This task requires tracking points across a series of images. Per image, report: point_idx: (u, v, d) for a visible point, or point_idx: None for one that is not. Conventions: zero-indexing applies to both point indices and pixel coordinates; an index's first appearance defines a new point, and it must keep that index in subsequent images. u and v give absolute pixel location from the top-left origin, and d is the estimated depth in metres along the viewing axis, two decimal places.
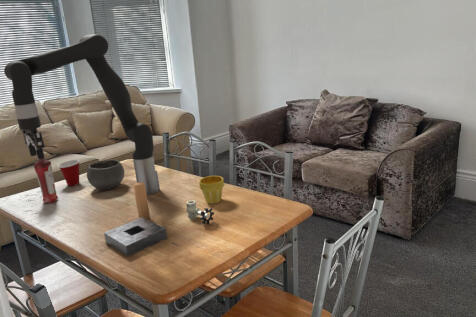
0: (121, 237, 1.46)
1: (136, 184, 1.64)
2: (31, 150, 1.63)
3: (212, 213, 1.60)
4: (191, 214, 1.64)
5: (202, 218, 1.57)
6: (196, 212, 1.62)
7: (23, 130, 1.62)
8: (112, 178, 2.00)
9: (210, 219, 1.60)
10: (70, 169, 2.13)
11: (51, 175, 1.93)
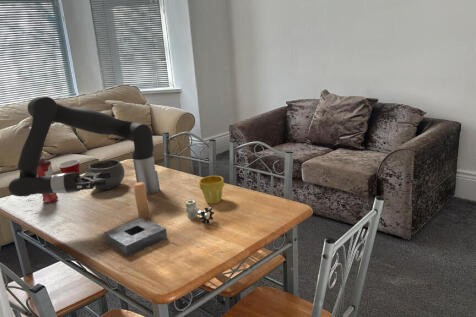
0: (121, 237, 1.46)
1: (136, 184, 1.64)
2: (105, 176, 1.66)
3: (212, 213, 1.60)
4: (191, 214, 1.65)
5: (202, 218, 1.57)
6: (196, 212, 1.63)
7: None
8: (112, 178, 2.00)
9: (210, 218, 1.60)
10: (70, 169, 2.13)
11: None
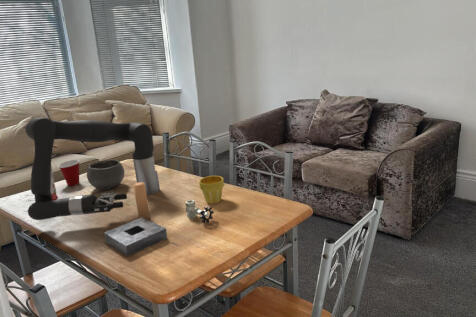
0: (121, 237, 1.46)
1: (136, 184, 1.64)
2: (121, 198, 1.70)
3: (212, 212, 1.61)
4: (190, 213, 1.65)
5: (202, 217, 1.58)
6: (195, 211, 1.63)
7: None
8: (112, 178, 2.00)
9: (210, 218, 1.61)
10: (70, 169, 2.13)
11: (51, 175, 1.93)
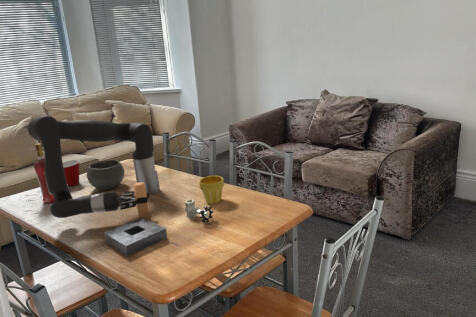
0: (121, 237, 1.46)
1: (136, 184, 1.64)
2: None
3: (211, 211, 1.62)
4: (190, 213, 1.65)
5: (202, 216, 1.58)
6: (195, 211, 1.63)
7: None
8: (112, 178, 2.00)
9: (209, 217, 1.61)
10: (70, 169, 2.13)
11: None
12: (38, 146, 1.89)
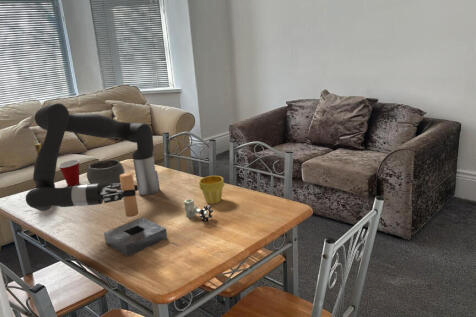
0: (121, 237, 1.46)
1: (123, 175, 1.47)
2: None
3: (211, 211, 1.62)
4: (189, 212, 1.66)
5: (202, 216, 1.59)
6: (195, 210, 1.64)
7: None
8: (112, 178, 2.00)
9: (209, 217, 1.62)
10: (70, 169, 2.13)
11: None
12: (38, 146, 1.89)
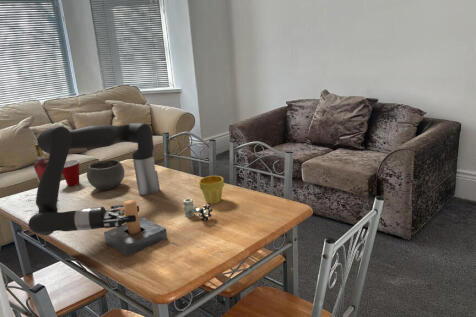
0: (121, 237, 1.46)
1: (126, 202, 1.47)
2: None
3: (210, 210, 1.63)
4: (188, 212, 1.66)
5: (201, 215, 1.60)
6: (194, 210, 1.65)
7: None
8: (112, 178, 2.00)
9: (209, 216, 1.63)
10: (70, 169, 2.13)
11: None
12: (38, 146, 1.89)
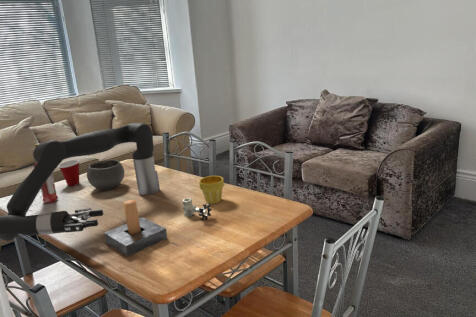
0: (121, 237, 1.46)
1: (126, 202, 1.47)
2: (96, 214, 1.51)
3: (210, 209, 1.64)
4: (188, 211, 1.67)
5: (201, 214, 1.60)
6: (193, 209, 1.65)
7: None
8: (112, 178, 2.00)
9: (208, 215, 1.64)
10: (70, 169, 2.13)
11: (51, 175, 1.93)
12: None
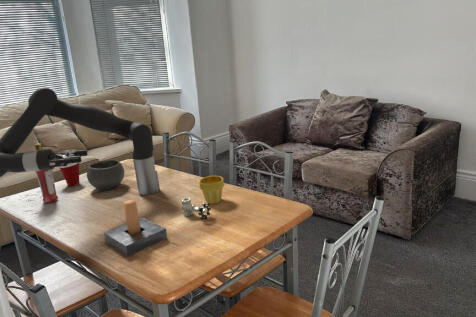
0: (121, 237, 1.46)
1: (126, 202, 1.47)
2: (80, 154, 1.58)
3: (209, 208, 1.65)
4: (187, 211, 1.67)
5: (201, 214, 1.61)
6: (193, 209, 1.66)
7: None
8: (112, 178, 2.00)
9: (207, 214, 1.64)
10: (70, 169, 2.13)
11: (51, 175, 1.93)
12: (38, 146, 1.89)
